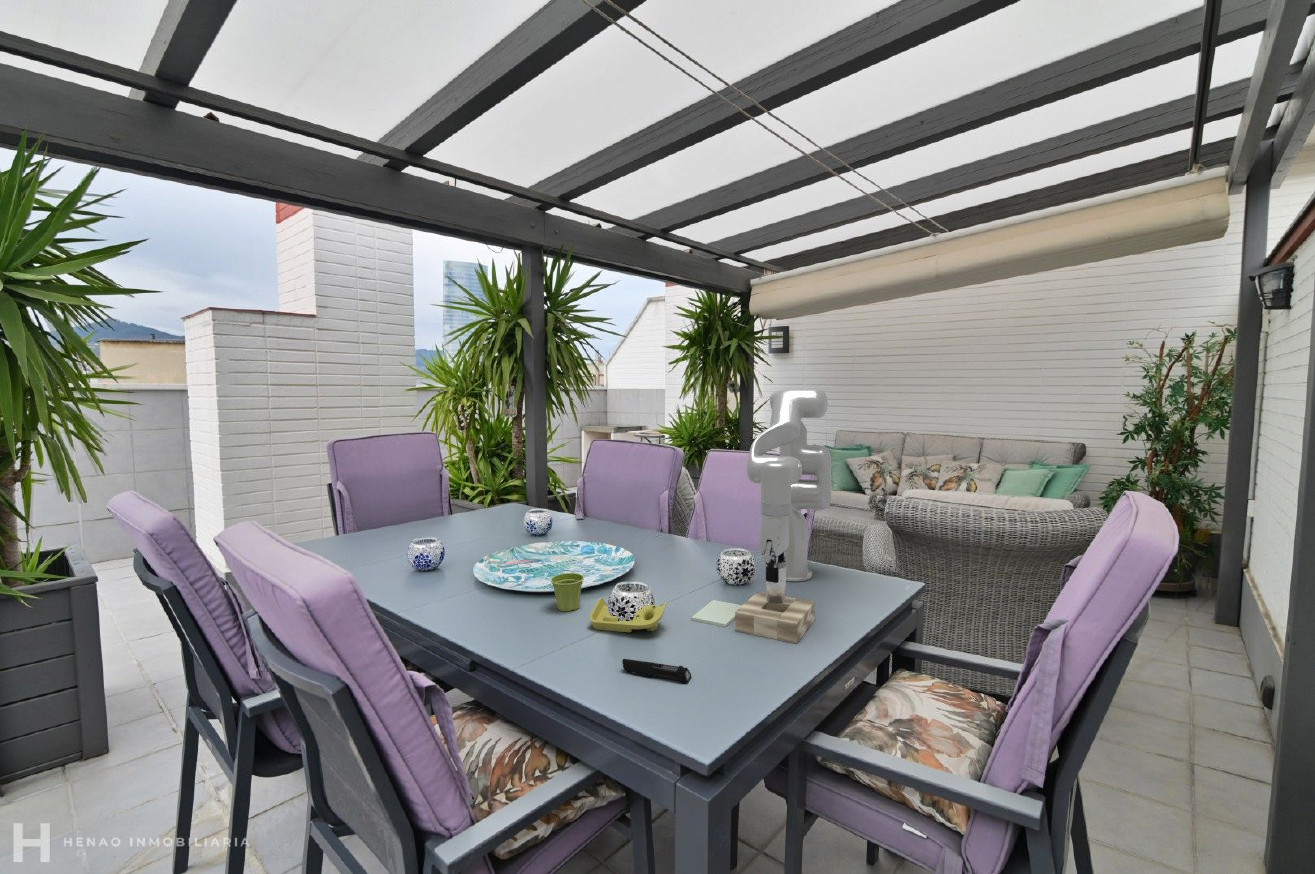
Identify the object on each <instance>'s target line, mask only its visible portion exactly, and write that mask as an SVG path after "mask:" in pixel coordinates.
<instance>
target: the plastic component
mask: <svg viewBox="0 0 1315 874" xmlns="http://www.w3.org/2000/svg"><path fill="white" fill-rule="evenodd" d="M667 605H668V602H666V601H664V603H663V605H662V606H661V605H656V604H653V605H644V606H642V607H643V608H642V607H641V608H642V609H640V608H639V609H640V610H639V611H638V612H637V613H636V614H635V616H634V618H633V620H632V621H618V618H617V617H616V616H611V615H610V613H609V611H608V607H609V606H608V604H607V602H606V601H605V599H604V598H603V597H599V598H598V600H597V602H596V603H595V606H594V607H593V610H592V612H591V613H590V614H589V619H590V622H591V624H592V626H593V628H594V629H596V630H597V631H599V630H600V631H609V632H622V633H623V632H624V633H632V631H633V630H644V629H646V631H648V632H649V631H651V632H654V631H656V630H657V629H658V626H659V622H660V620H661V619H662V617H663V615H664V613H665V609H666V606H667ZM637 617H639V618H637Z"/></svg>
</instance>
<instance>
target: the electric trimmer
mask: <svg viewBox="0 0 1315 874" xmlns="http://www.w3.org/2000/svg"><path fill="white" fill-rule="evenodd" d="M621 661H622V668H623V670H624V671H626V672H630V673H633V674H636V675H640V676H643V677H646V678H651V677H656V678H657V677H658V678H663V679H669V680H673V681H674V680H675V681H677V682H678V681H679V682H681V684H682V685H685V684H689V683H690V681H691V680H692V677H693V676H692V673H691V671H690V670H689V669H688V667H684V666H683V665H679V666H678V665H669V664H664V663H656V662H653V661H652V662H650V661H644V660H636V659H629V658H623V659H622V660H621Z"/></svg>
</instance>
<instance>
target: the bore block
mask: <svg viewBox="0 0 1315 874" xmlns="http://www.w3.org/2000/svg"><path fill="white" fill-rule="evenodd" d="M741 605H742V606H741V607H740V608H739V609H738V610H737V611H736V612H735V619H734V622H735V623H734V630H735V632H739V633H743V634H747V635H753V636H759V637H763V638H767V639H773V640H778V641H782V642H786V643H793V644H798V643H799V642H800V640H801V639H802V637H803V636H804V635H805V633H806V632H807V631H808V629H810V627H811V626H812V625H813V624H814V622H815V621H816V617H815V616H816V614H815V613H816V601H814V600H806V599H801V598H796V597H795V598H794V597H790V596H786V601H785V602H784V603H779V604H775V603H770V602H768V601H767V600H766V592H759V591H757V592H756V593H754V594H753V595H752V596H751V597H750V598H749V599H747V600H746V602H745V603H743V604H741Z"/></svg>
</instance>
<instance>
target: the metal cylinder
mask: <svg viewBox="0 0 1315 874" xmlns="http://www.w3.org/2000/svg"><path fill="white" fill-rule="evenodd" d="M772 559H773V560H774V558H772ZM777 567H779V582H778V583H774V582H767V581H766V580H765V593H766V600H767V601H768V602H770V603H775V604H779V603H784V602H785V601H786V597H787V595H786V594H787V591H786V589H787V588H786V587H787V581H786V562H785V561H783V560H778V563H777Z"/></svg>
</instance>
